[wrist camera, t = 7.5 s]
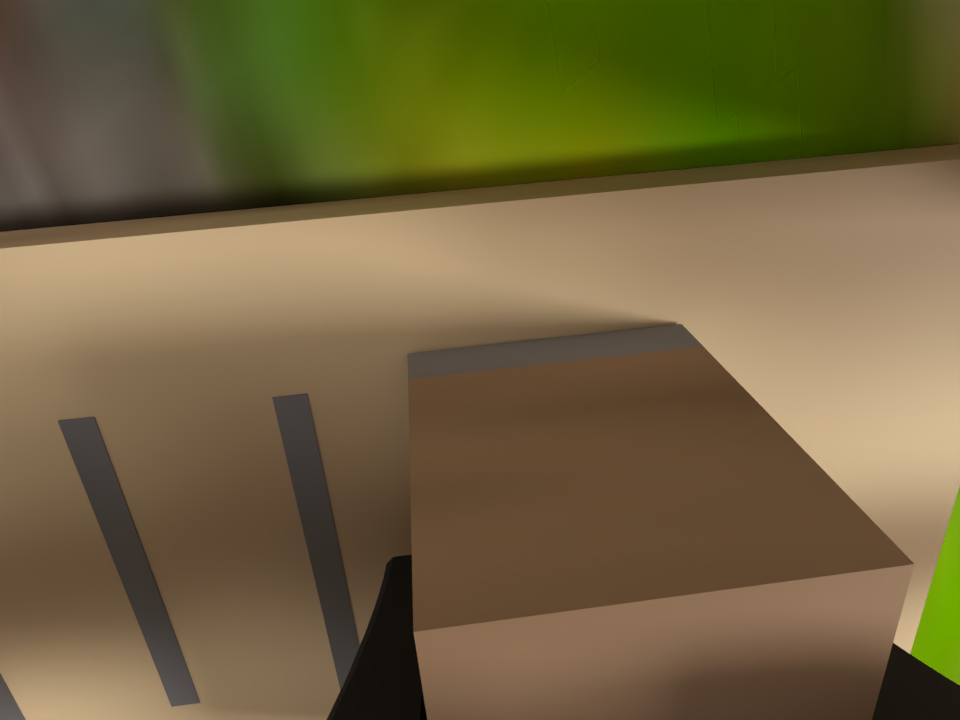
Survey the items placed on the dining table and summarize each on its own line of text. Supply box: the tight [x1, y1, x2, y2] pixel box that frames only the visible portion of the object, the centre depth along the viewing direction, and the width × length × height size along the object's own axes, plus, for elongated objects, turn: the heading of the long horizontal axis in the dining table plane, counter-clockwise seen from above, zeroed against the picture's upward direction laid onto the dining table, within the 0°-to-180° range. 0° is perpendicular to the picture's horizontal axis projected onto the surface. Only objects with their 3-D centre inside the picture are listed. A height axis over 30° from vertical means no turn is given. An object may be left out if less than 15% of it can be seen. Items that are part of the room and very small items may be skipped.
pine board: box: [0, 144, 960, 720], centre depth 12 cm, size 12×20×1 cm, turn 94°
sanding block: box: [408, 324, 915, 720], centre depth 9 cm, size 8×4×5 cm, turn 4°
